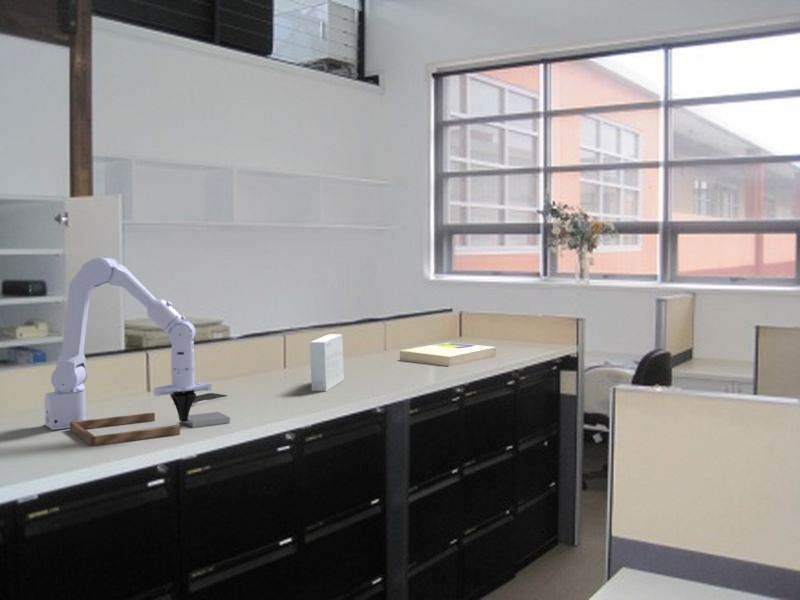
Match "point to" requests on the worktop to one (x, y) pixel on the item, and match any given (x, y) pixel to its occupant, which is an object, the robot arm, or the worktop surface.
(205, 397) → the smartphone
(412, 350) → the puzzle box
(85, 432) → the walnut u-shaped frame
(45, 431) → the worktop surface
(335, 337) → the skincare box
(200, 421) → the cover plate
